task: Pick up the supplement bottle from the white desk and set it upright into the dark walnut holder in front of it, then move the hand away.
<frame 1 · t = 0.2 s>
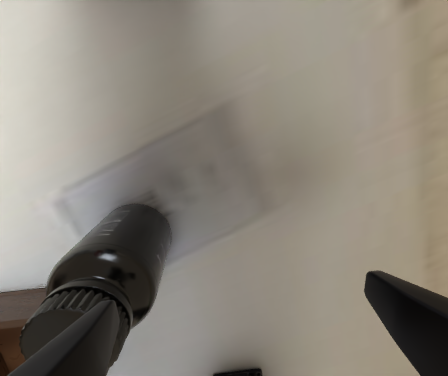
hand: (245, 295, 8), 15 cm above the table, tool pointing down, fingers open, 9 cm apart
supplement bottle: (140, 232, 22), on the table
holder: (48, 331, 24), on the table
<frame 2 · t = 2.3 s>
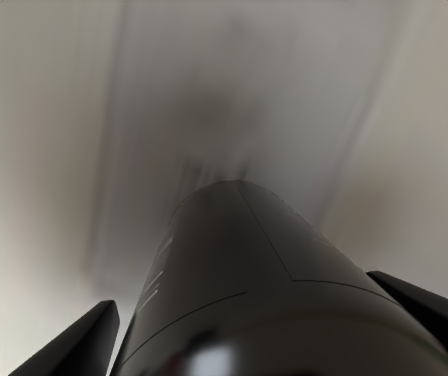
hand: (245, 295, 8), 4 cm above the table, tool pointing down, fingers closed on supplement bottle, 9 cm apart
supplement bottle: (231, 236, 12), on the table, touching gripper
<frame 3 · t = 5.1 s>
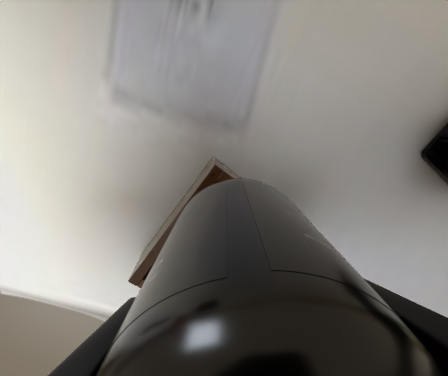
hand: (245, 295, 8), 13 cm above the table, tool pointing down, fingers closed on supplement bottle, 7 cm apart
supplement bottle: (239, 233, 12), point 8 cm above the table, touching gripper
holder: (225, 239, 21), on the table
when the fingers open (6 cm above the table, at t = 7.7 s): supplement bottle stays where it is, resting on holder.
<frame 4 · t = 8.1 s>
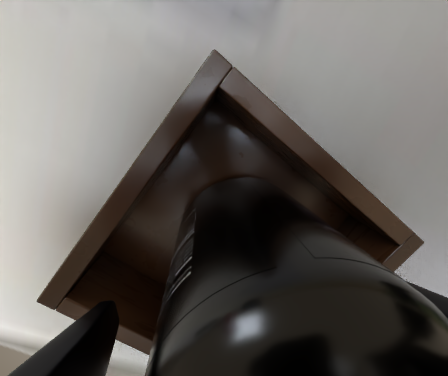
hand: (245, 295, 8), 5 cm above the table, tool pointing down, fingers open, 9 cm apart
supplement bottle: (240, 230, 13), resting on holder
holder: (228, 227, 13), on the table
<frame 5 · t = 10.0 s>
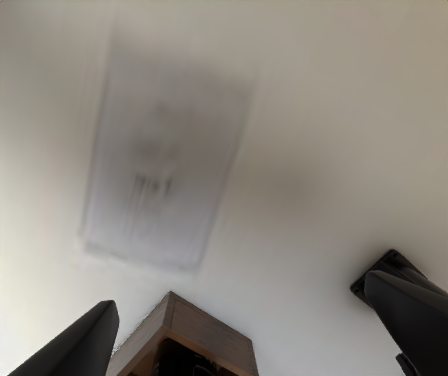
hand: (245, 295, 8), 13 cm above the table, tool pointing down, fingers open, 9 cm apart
supplement bottle: (186, 353, 24), resting on holder
holder: (181, 350, 25), on the table
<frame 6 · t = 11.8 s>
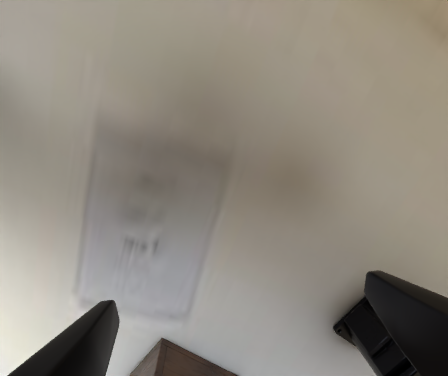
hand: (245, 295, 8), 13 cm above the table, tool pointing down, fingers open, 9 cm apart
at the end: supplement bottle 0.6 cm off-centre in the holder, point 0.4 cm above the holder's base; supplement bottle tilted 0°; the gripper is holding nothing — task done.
